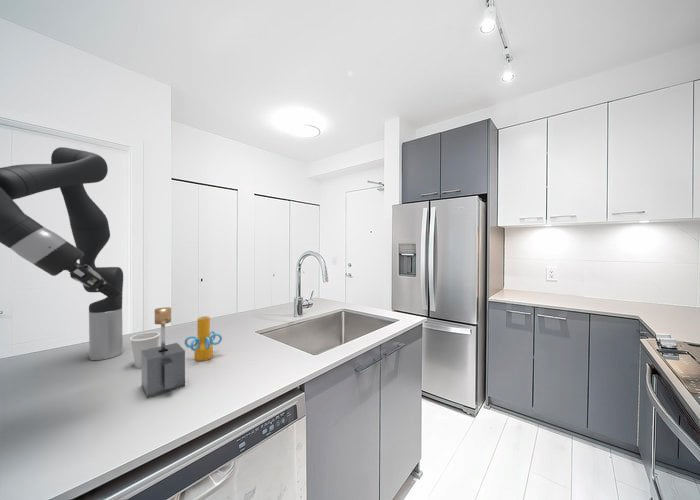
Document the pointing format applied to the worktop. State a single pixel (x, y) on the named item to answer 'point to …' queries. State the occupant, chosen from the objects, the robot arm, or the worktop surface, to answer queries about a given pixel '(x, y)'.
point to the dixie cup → (143, 344)
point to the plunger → (163, 322)
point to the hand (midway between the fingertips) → (115, 294)
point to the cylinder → (203, 340)
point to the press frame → (163, 369)
